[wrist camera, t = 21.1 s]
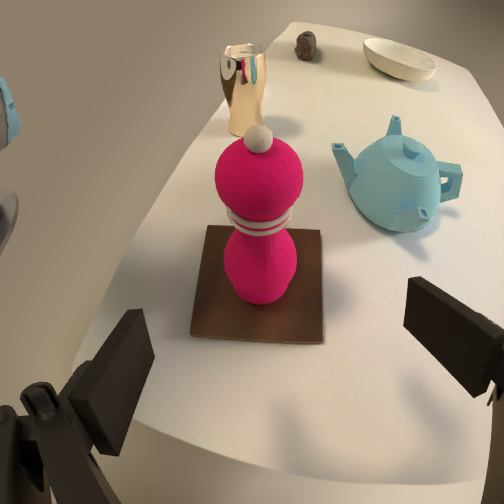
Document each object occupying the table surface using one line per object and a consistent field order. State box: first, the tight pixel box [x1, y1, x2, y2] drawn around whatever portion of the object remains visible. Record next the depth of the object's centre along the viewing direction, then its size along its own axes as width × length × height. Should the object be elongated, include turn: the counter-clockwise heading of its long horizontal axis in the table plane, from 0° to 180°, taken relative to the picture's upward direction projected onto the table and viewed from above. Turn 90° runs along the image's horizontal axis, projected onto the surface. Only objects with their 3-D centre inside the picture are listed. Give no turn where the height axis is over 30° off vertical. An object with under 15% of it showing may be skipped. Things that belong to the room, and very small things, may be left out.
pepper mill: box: [215, 125, 303, 305], centre depth 25 cm, size 7×7×20 cm
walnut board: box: [190, 225, 323, 344], centre depth 34 cm, size 14×14×1 cm
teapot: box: [332, 115, 463, 232], centre depth 36 cm, size 15×15×11 cm
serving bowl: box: [363, 38, 437, 82], centre depth 62 cm, size 21×21×7 cm
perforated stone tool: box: [295, 31, 316, 60], centre depth 65 cm, size 15×5×7 cm, turn 164°
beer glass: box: [220, 44, 266, 137], centre depth 43 cm, size 7×7×15 cm
